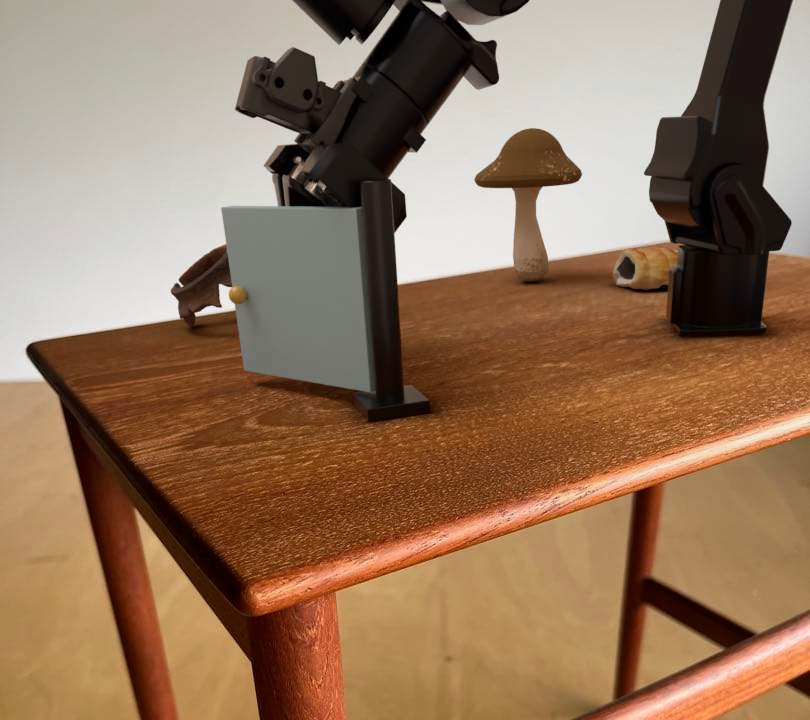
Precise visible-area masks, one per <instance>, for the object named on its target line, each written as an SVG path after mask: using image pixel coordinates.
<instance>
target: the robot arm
mask: <svg viewBox="0 0 810 720" xmlns="http://www.w3.org/2000/svg"><path fill="white" fill-rule="evenodd" d="M291 1H292V2H293V3H294V4H295V5H296V6H297V7H298V8H299V9H300V10H301V11H302V12H304V14H305V15H306V16H308V18H310V19H311V21H313V22H314V23H315V24H316V25H317V26H318V27H319V28H320V29H321V30H322V31H323V32H324V33H325V34H326V35H327V36H328V37H329V38H331V40H333V41H334V43H336V44H337V45H338V46H340V45H341V44H342V43H343V42H344V41H345V39H348V40H349V41H352V39H353V38H354V37H355V40H356V41H357V42H358V43H359V44H360V45H363V44H364V43H365V42H366V41H367V40H368V39H369V38H370V37H371V36H372V34H373V33H374V32H375V30H376V29H377V27H378V26H379V25H380V24H381V22H382V21H383V19H384V18H385V17H386V16H387V14H388V12H389V11H390V10H391V8H392V6H394V7H395V8H396V9H397V10H398V11H399V12H398V13H397V14H396V16H395V17H394V19H393V20H392V22H391V23H389V25H388V27H387V29H386V30H384V33H383V34H382V35H381V37H380V38H379V40H378V41H377V42H376V44H375V45H374V46H373V48H372V50H371V51H370V52H369V53H368V54H367V57H366V58H365V59H364V60H363V62H362V63H361V64H360V66H359V67H358V68H357V70H356V71H355V73H354V74H353V76H352V77H350V78H348V79H346V80H338V81H337V82H336V83H335V84H334V85H333V87H331V86H329V85H327V82H325V81H323V80H319V77H318V71H317V70H318V69H317V64H316V63H317V62H316V57H315V56H314V55H312V54H310V53H308V52H305V51H303V50H301V49H299V48H296V47H294V46H293V47H292V46H291V47H290V48H287V50H286V51H285V52H284V53H283V54H282V55H281V56H280V57H279V58H278V60H277V61H272V60H271V58H269V57H267V56H262V57H261V56H259V55H254V56H252V57H250V58H249V59H248V60H247V61H246V65H245V69H244V73H243V76H242V80H241V84H240V88H239V92H238V95H237V99H236V102H235V107H234V110H235V111H236V112H238V113H239V114H242V115H244V116H246V117H249V118H251V119H255V118H260V119H262V120H265V121H267V122H270V123H272V124H274V125H277V126H279V127H282V128H284V129H287V130H289V131H291V132H295V133H296V134H297V133H298V135H296V136H295V137H296V138H294V142H295V143H290V144H280V145H277V146H276V147H275V148H274V150H273V152H272V153H271V154H270V156H269V157H268V158H267V160H266V161H265V163H264V164H263V167H264V168H265V169H266V170H267V171H268V172H269V173H270V174H272V177H271V180H272V183H273V185H274V191H275V196H276V202H277V206H308V207H351V208H355V207H362V206H361V193H360V181H363V180H371V179H390V177H391V176H392V174H394V172H395V170H396V169H397V168H398V166H399V165H400V164H401V163H402V161H403V160H404V159H405V157H406V155H407V154H408V153H416V154H417V153H418V152H419V150H420V149H421V148H422V147H423V145H424V144H425V142H426V141H427V139H426V137H424V136H423V135H422V134H423V132H424V131H425V130H426V128H427V126H429V124H430V123H431V122H432V120H433V119H434V117H435V116H437V115H436V114H437V113H438V112H439V110H440V109H441V108H442V107H443V105H444V104H445V103H446V101H447V100H448V98H449V97H450V95H451V94H452V93H453V92H454V90H455V89H456V87H457V86H458V85H459V84H460V83H461V81H462V79H463V78H464V79H465V80H466V81H467V82H468V83H469V84H470V85H471V86H472V87H473V88H474V89H475V90H477V91H480V90H482V89H486V88H489V87H492V86H494V85H497V83H499V81H500V74H499V73H500V72H499V67H498V62H497V49H498V43H497V41H496V40H495V39H489V40H487V41H486V40H485V41H481V40H477V39H476V38H475V37H474V36H473V35H472V34H471V33H470V31H468V29H466V28H465V27H464V25H463V24H465V25H467V26H484V25H486V24H489V23H491V22H495V21H496V20H500V19H501V18H504V17H507V16H509V15H511V14H514V13H517V12H518V11H519V10H520V9H521V8H523V7H524V6H526V5H527V4H528V3H529V2H530V0H291ZM425 3H426V4H432V5H433V4H434V5H439V6H443V7H444V9H445V11H444V12H443V13H441V14H440V15H439V14H438V13H436V12H435V11H434V10H433V9H431V8H430V7H429V6H428V5H426V4H425ZM793 3H794V0H720V1H719V4H718V8H717V12H716V15H715V20H714V23H713V26H712V29H711V35H710V39H709V42H708V46H707V50H706V54H705V57H704V61H703V64H702V69H701V73H700V77H699V80H698V84H697V87H696V90H695V92H694V95H693V97H692V99H691V100H690V102H689V103H688V104H687V106H686V108H685V109H684V110H683V112H682V114H681V115H680V116H663V117H661V118H660V119H659V120H658V121H659V122H658V125H657V128H656V131H655V132H656V134H655V143H654V150H653V153H652V157H651V159H650V162H649V163H648V165H647V167H646V168H645V170H644V172H643V175H644V176H646V177H650V180H649V187H648V197H649V202H650V203H651V204H652V206H653V208H654V210H655V212H656V214H657V215H658V216H659V217H660V218H661V219H662V220H663V221H664V225H665V227H666V231H667V234H668V238H669V241H670V243H672V244H675V245H677V244H679V245H678V246H677V250H678V259H677V265H672V266H671V267H670V268H669V283H668V285H667V299H666V312H665V316H666V318H667V320H668V321H669V323H670V324H672V327H673V328H674V329H675V330H676V332H677V333H678V335H680V336H712V335H715V336H716V335H743V334H744V335H748V334H749V335H750V334H766V333H767V330H768V326H767V324H766V323H764V322H763V321H762V318H763V312H764V311H763V310H764V302H765V292H766V285H767V276H768V275H767V274H768V267H769V256H770V252H778V251H781V249H782V248H783V246H784V244H785V242H786V239H787V236H788V234H789V232H790V229H791V227H792V219H791V218H790V217H789V215H788V214H787V213H786V212H785V211H784V209H783V208H782V207H781V206H780V205H779V203H778V202H777V201H776V200H775V199H774V197H773V196H772V195H771V194H770V193H769V191H768V190H767V189H766V188H765V187H764V183H765V178H766V171H767V164H768V158H769V151H770V142H769V137H768V136H769V135H768V128H767V121H766V114H765V100H766V99H765V98H766V95H767V91H768V87H769V85H770V81H771V77H772V74H773V70H774V68H775V64H776V60H777V57H778V53H779V50H780V47H781V44H782V39H783V37H784V33H785V29H786V27H787V22H788V19H789V15H790V13H791V9H792V5H793ZM461 23H463V24H461ZM391 185H392V201H393V218H394V234H395V233H396V232H397V231H398V229H399V228H400V226H402V224H403V223H404V221H405V220H406V219H407V216H408V214H407V201H406V193H404V191H402V190H401V189H400V188H399V187H398V186H397V185H396V184H395V183H393V181H391Z"/></svg>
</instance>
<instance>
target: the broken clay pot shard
mask: <svg viewBox="0 0 810 720" xmlns="http://www.w3.org/2000/svg"><path fill="white" fill-rule="evenodd" d="M178 282H179V283H180V284H181V285H182V286H181V285H180V284H179V283H178ZM178 282H175V283H174V285H173V286H172V287H171V289H170V294H171V295H172V296H173V297H174V298H175V300H177V302H178V304H177V309H178V311H177V312H178V316H179V320H182V319H183V322H184V323H185V324H187V326H188V327H189V328H194V327H195V324H196V314H197V313H200V312H202V311H203V310H205V308H208V307H211V306H212V307H215V308H218V309H219V308H221V309H222V308H223V305H222V303H221V297H220V285H222V286H224V287H225V288H226V287H227V288H232V281H231V274H230V267H229V260H228V253H227V245H226V243H225V244H223V245H220V246H218V247H216V248H213V249H212V250H210V251H209V252H207V253H205V254H204V255H202V257H200V258H199V259H198V260H196V261H195V262H194V263H193V264H192V265H191V266H189V268H188V269H186V270H185V271H184V272H183V273H182V274H181V275H180V276H179V278H178Z"/></svg>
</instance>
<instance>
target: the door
mask: <svg viewBox="0 0 810 720" xmlns="http://www.w3.org/2000/svg"><path fill="white" fill-rule="evenodd" d="M220 209H221V216H222V223H223V230H224V237H225V244H226V245H227V253H228V260H229V267H230V274H231V281H232V287H230V289H229V291H228V299H229V301H231V303H233V304H234V309H235V314H236V315H235V317H236V323H237V331H238V338H239V343H240V344H239V345H240V352H241V358H242V359H241V360H242V366H243V371H244V372H249V373H254V374H261V375H265V376H272V377H278V378H284V379H288V380H289V379H290V380H296V381H301V382H307V383H313V384H319V385H325V386H330V387H337V388H343V389H349V390H354V391H358V392H363V391H365V392H373V391H375V377H374V364H373V351H372V338H371V325H370V311H369V298H368V285H367V272H366V259H365V246H364V232H363V219H362V207H355V208H351V207H308V206H278V205H274V206H273V205H229V206H222V207H220Z"/></svg>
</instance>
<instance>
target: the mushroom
mask: <svg viewBox="0 0 810 720" xmlns="http://www.w3.org/2000/svg"><path fill="white" fill-rule="evenodd" d="M582 176H583V173H582V170H581V168H579V166H578V165H576V163H575V162H573V160H571V158H570V157H569V156H567V154H566V152H565V150H564V149H563V147H562V145H561V143H560V142H559V140H558V139H557V138H556V137H555V136H554V135H553V134H552V133H550V132H549V131H547V130H545V129H541V128H536V127H530V128H524V129H522V130H519V131H517V132H516V133H514V134H513V135H511V136H510V137H509V138H508V139H507V140H506V141H505V143H504V144H503V146H502V147H501V149H500V152H499V154H498V156H497V157H496V158H495V159H494V160H493V161H492V162H490V163H489V164H488V165H487V166H485V167H484V168H483V169H482V170H480V171H479V172H478V173H476V175H475V177H474V179H473V180H474V183H475V185H477V186H478V187H480V188H484V189H512V191H513V193H514V200H515V211H514V212H515V216H514V217H515V218H514V231H513V248H512V259H513V260H512V261H513V269H514V271H515V273H516V277H518V278H519V279H521V280H522V281H524V282H530V283H531V282H536V281H540V280H541V279H543V278H545V277H546V276H547V274H548V271H549V268H550V267H549V256H548V252H547V249H546V246H545V243H544V240H543V235H542V232H541V228H540V225H539V221H538V218H537V200H538V197H539V194H540V191H542V189H543V188H545V187H555V186H556V187H557V186H567V185H572V184H575V183H578V182H580V180H581V178H582Z"/></svg>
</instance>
